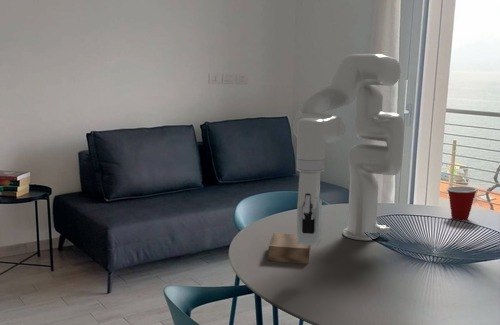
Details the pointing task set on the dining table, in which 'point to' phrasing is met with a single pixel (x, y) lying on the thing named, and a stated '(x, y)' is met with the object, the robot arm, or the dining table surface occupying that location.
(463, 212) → the plastic cup
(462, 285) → the dining table surface
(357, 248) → the dining table surface
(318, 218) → the skincare box
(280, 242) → the tan flat square block
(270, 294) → the dining table surface
